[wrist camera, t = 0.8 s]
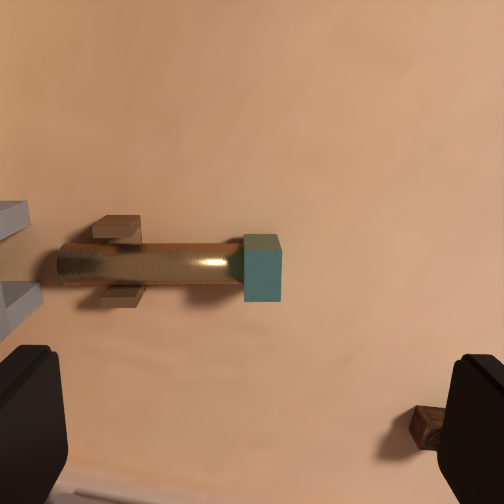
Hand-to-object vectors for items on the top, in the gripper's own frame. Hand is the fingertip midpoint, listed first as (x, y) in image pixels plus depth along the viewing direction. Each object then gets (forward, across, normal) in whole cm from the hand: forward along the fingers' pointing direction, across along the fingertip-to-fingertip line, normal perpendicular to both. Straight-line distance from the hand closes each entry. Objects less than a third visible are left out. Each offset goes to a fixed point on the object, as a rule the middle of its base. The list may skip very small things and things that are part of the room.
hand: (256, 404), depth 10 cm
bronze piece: (+28, +6, +5) cm, 29 cm away
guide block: (+29, +11, +5) cm, 31 cm away
